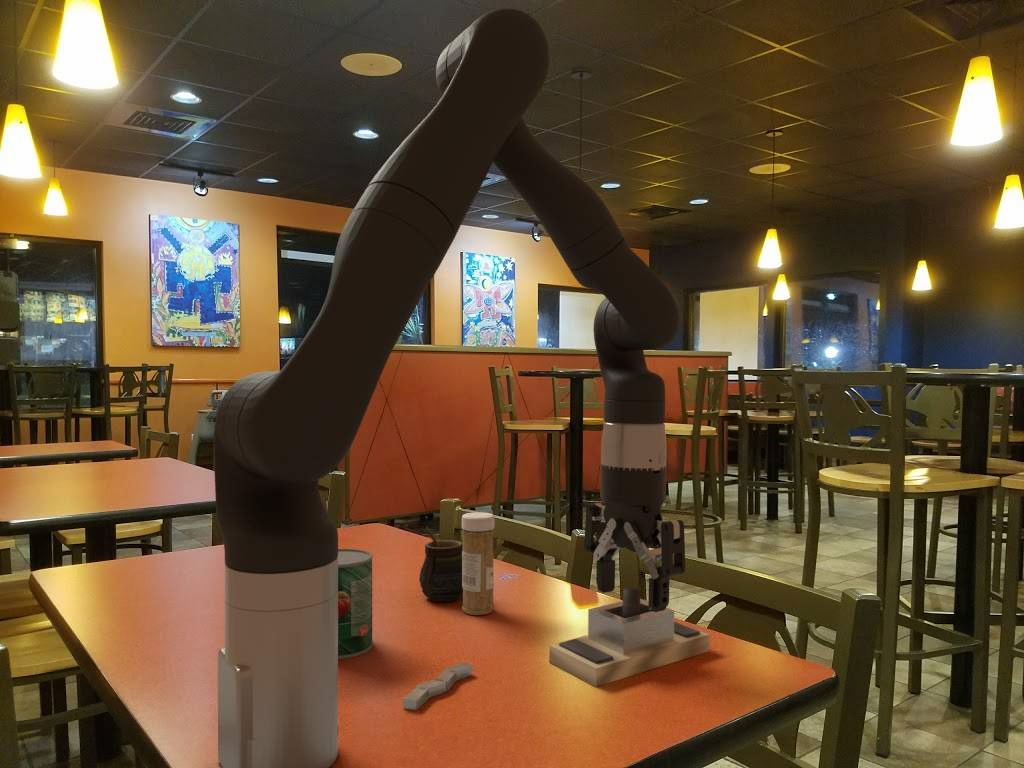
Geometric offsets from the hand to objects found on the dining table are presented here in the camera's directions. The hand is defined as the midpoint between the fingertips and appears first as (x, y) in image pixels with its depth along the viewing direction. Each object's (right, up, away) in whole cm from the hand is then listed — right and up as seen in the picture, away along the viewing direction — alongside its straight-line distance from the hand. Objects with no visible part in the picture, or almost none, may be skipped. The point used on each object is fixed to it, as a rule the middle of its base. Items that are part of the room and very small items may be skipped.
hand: (630, 600), depth 87 cm
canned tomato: (-35, -7, +3) cm, 35 cm away
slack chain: (-22, -7, -9) cm, 24 cm away
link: (0, -5, 0) cm, 5 cm away
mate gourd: (-24, -6, +23) cm, 34 cm away
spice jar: (-19, -7, +17) cm, 26 cm away
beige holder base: (0, -7, 0) cm, 7 cm away
